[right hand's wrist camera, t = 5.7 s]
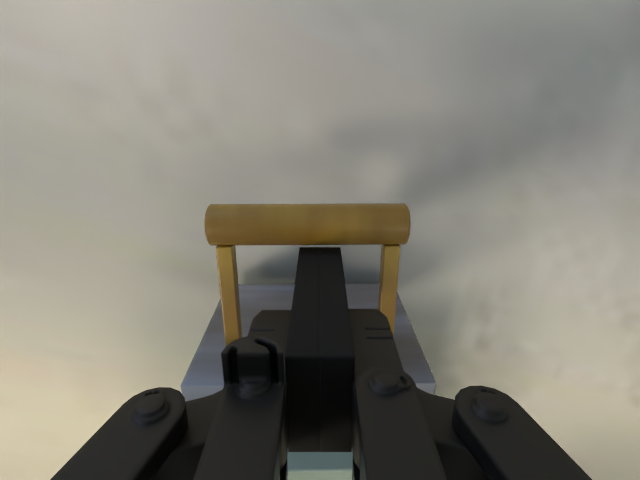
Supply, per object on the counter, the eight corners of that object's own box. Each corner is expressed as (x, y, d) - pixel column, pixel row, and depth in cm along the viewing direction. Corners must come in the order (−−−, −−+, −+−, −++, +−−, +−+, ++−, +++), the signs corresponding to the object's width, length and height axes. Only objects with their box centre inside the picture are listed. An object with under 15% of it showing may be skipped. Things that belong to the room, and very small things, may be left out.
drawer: (216, 174, 19) (155, 224, 12) (401, 174, 19) (457, 223, 12) (250, 537, 28) (227, 695, 21) (375, 535, 28) (397, 692, 21)
